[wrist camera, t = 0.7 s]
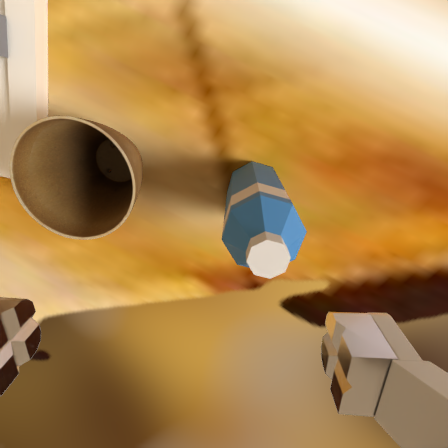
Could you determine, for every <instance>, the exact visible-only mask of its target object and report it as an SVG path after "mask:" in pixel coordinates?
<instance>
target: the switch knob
mask: <svg viewBox="0 0 448 448" xmlns="http://www.w3.org/2000/svg"><path fill="white" fill-rule="evenodd" d="M0 56H1V57H6V58H8V40H7V20H6V16H4V15H1V14H0Z"/></svg>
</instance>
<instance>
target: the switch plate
mask: <svg viewBox="0 0 448 448" xmlns="http://www.w3.org/2000/svg"><path fill="white" fill-rule="evenodd" d="M0 14H1V15H4V16H6V20H7V40H8V58H6V57H1V56H0V176H2V177H6V178H10V171H9V162H10V155H11V151H12V148H13V145H14V143H15V141H16V139H17V137H18V136H19V135H20V133H21V132H22V131H23V130H24V129H25V128H26V127H28V126H29V125H30V124H32V123H34V122H35V121H38V120H40V119H42V118H46V117H48V0H0Z"/></svg>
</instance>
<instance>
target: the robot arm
mask: <svg viewBox="0 0 448 448" xmlns="http://www.w3.org/2000/svg"><path fill="white" fill-rule="evenodd" d="M35 312H36V311H35V308H34V305H33V302H32V301H30V300H28V299H18V298H3V297H0V396H1V395H2V394H3V393H4V392H5V390H6V389H7V388H8V387H9V385H10V384H11V383H12V382H13V380H14V379H15V378H16V377H17V375H18V374H19V366H20V365H22V364H24V363H25V362H27V361H29V360H30V359H31V358H32V356H33V355H34V354H35V352H36V351H37V349H38V346H39V343H40V341H41V330H40V326H39V324H38V323H37V322H36V321H35V320H34V319H33V318H32V317H33V315H34V313H35ZM325 325H326V328H327V330H328V333H327V334H325V335H324V336H323V338H322V345H321V357H322V363H323V367H324V371H325V374H326V375H327V376H328V377H330V378H331V379H332V383H331V388H330V390H331V393H332V396H333V399H334V402H335V405H336V408H337V411H338V414H346V415H359V416H371V417H375V418H374V419H375V420H376V421H377V422H378V423H379V424H380V425H381V427H382V428H383V429H384V430H385V431H386V432H387V433H388V434H389V435H390V436H391V437H392V438H393V439H394V440H395V442H396V443H397V444H398V445H399V446H400V447H401V448H448V373H447V372H445V371H443V370H442V369H440V368H439V367H437V366H435V365H434V364H433V363H431V362H430V361H422V359H421V358H420V357H419V355H418V354H417V352H416V351H415V349H414V348H413V347H412V345H411V344H410V342H409V341H408V340H407V338H406V337H405V335H404V334H403V332H402V331H401V330H400V328H399V327H398V325H397V324H396V323H395V321H394V320H393V318H392V317H391V316H390V315H389V314H387V313H345V312H329V313H328V315H327V317H326V322H325Z"/></svg>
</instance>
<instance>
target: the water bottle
mask: <svg viewBox="0 0 448 448" xmlns="http://www.w3.org/2000/svg"><path fill="white" fill-rule="evenodd" d="M306 232H307V231H306V229H305V227H304V226H303V224H302V222H301V220H300V218H299V216H298V214H297V212H296V210H295V208H294V206H293V204H292V202H291V200H290V198H289V197H288V195H287V193H286V191H285V189H284V187H283V185H282V184H281V182H280V180H279V178H278V176H277V174H276V173H275V171H274V169H273V167H270V166H266V165H263V164H259V163H256V162H250V163H248V164H246V165H244V166H243V167H241V168H239V169H237V170H235V171H234V172H233V173H232V177H231V180H230V184H229V187H228V190H227V197H226V207H225V216H224V225H223V234H222V241H223V242H224V244H225V246H226V247H227V249H228V250H229V252H230V254H231V255H232V257H233V258H234V260H235V262H236V263H237V265H241V266H245V267H249V268H250V269H251V270H252V272H253V274H254V275H258V276H261V277H265V278H269V279H271V278H273V277H275V276H277V275H279V274H282V273H284V272H285V271H286V269H287V266H288V264H289V262H290V261H292V260H295V258H296V256H297V253H298V251H299V249H300V246H301V244H302V241H303V239H304V237H305V234H306Z"/></svg>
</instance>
